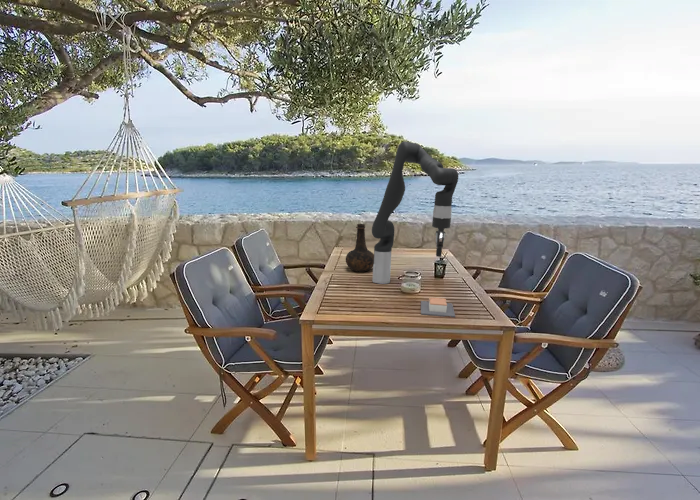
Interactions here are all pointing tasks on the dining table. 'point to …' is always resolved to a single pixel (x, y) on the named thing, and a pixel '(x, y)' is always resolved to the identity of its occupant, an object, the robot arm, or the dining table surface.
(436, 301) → the white block copper side
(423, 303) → the mat
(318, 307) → the dining table surface
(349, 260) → the glass bottle
